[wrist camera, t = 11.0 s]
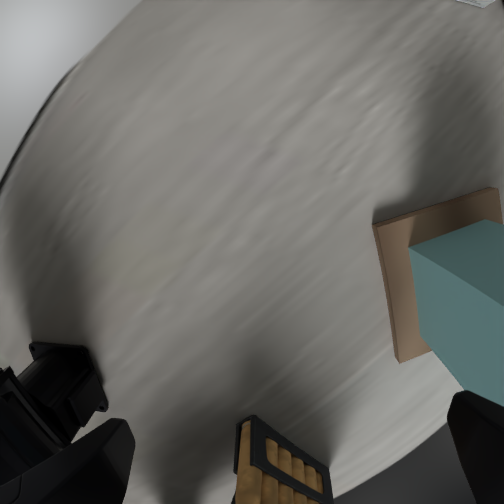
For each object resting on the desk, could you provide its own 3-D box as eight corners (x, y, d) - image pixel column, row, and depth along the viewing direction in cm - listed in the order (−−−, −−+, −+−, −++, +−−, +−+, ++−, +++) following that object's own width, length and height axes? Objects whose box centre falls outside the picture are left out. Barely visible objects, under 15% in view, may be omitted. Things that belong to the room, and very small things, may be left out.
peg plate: (394, 356, 21) (420, 397, 16) (371, 224, 19) (404, 242, 14) (498, 310, 20) (534, 336, 15) (489, 187, 18) (535, 194, 13)
